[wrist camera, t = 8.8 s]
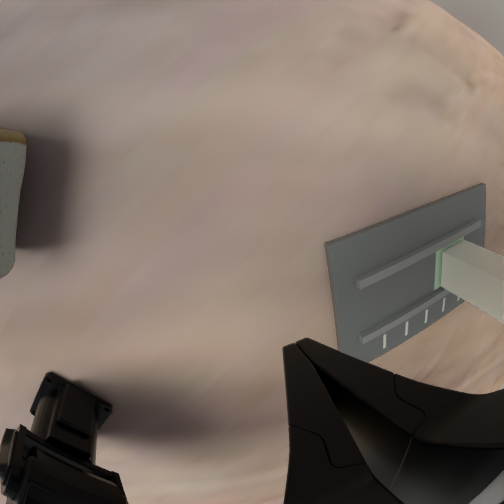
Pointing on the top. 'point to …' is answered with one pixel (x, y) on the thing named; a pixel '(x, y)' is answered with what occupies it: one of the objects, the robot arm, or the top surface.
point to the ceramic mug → (10, 193)
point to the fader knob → (475, 277)
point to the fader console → (399, 272)
